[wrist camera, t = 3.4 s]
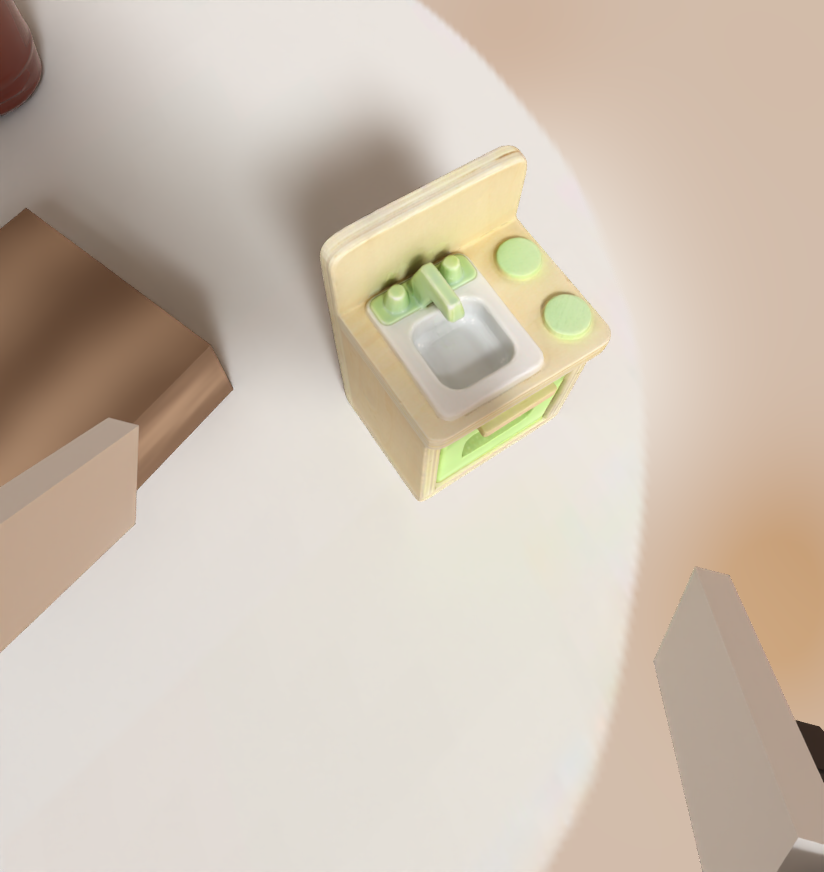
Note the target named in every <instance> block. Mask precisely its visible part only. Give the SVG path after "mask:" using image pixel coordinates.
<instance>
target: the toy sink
mask: <svg viewBox="0 0 824 872" xmlns="http://www.w3.org/2000/svg"><path fill="white" fill-rule="evenodd" d="M526 170H527V160H526V158H525V157H524V156H523V154H522V153H521V152H520V150H519V149H518V148H516V147H514V146H501V147H499V148H497V149H495V150H493V151H490V152H488V153H486V154H484V155H483V156H481V157H479V158H477V159H475V160H473V161H471V162H469V163H467V164H465V165H463V166H461V167H459V168H457V169H455V170H453V171H451V172H449V173H447V174H446V175H444V176H442V177H440V178H438V179H436V180H434V181H432V182H430V183H428V184H426V185H424V186H422V187H420V188H418V189H416V190H414V191H412V192H411V193H409V194H407V195H405V196H403V197H401V198H399V199H397V200H395V201H393V202H391V203H389V204H387V205H385V206H383V207H381V208H379V209H377V210H376V211H374V212H372V213H370V214H368V215H366V216H364V217H362V218H361V219H359V220H357V221H355V222H353V223H352V224H350V225H348V226H346V227H344V228H343V229H341V230H340V231H338V232H336V233H335V234H334V235H332V236H331V237H330V238H328V240H327V241H326V242H325V243H324V244H323V246H322V248H321V251H320V263H321V269H322V274H323V280H324V286H325V291H326V297H327V303H328V308H329V313H330V318H331V324H332V329H333V334H334V339H335V344H336V350H337V354H338V359H339V364H340V369H341V374H342V379H343V384H344V389H345V393H346V397H347V399H348V401H349V403H350V404H351V406H352V407H353V409H354V410H355V412H356V413H357V414H358V416H359V417H360V419H361V420H362V422H363V423H364V425H365V426H366V428H367V429H368V430H369V432H370V433H371V435H372V436H373V438H374V439H375V441H376V442H377V444H378V445H379V447H380V448H381V450H382V451H383V453H384V454H385V455H386V457H387V458H388V460H389V461H390V462H391V464H392V465H393V467H394V468H395V470H396V471H397V473H398V474H399V475H400V477H401V478H402V480H403V481H404V483H405V484H406V486H407V487H408V488H409V490H410V491H411V493H412V494H413V495H414V497H415V498H416V499H417V500H418V501H420V502H422V501H425V500H427V499H428V498H430V497H432V496H433V495H435V494H437V493H438V492H440V491H441V490H443V489H444V488H446V487H447V486H449V485H450V484H452V483H454V482H455V481H457V480H458V479H460V478H461V477H463V476H464V475H466V474H468V473H469V472H471V471H472V470H474V469H475V468H477V467H479V466H480V465H482V464H483V463H485V462H486V461H488V460H489V459H491V458H492V457H494V456H496V455H497V454H499V453H500V452H502V451H503V450H505V449H506V448H508V447H510V446H511V445H513V444H514V443H516V442H517V441H519V440H520V439H522V438H524V437H525V436H527V435H528V434H530V433H531V432H533V431H534V430H536V429H538V428H539V427H541V426H542V425H544V424H545V423H547V422H548V421H550V420H551V419H553V418H554V417H555V416H556V415H557V414H558V412H559V411H560V409H561V407H562V405H563V403H564V402H565V400H566V398H567V397H568V395H569V393H570V391H571V389H572V388H573V386H574V384H575V382H576V380H577V379H578V377H579V375H580V373H581V372H582V370H583V368H584V366H585V364H586V362H587V361H589V360H591V359H592V358H594V357H595V356H597V355H599V354H600V353H601V352H602V351H603V350H604V349H605V347H606V345H607V344H608V342H609V340H610V337H611V331H610V329H609V326H608V325H607V324H606V322H605V321H604V320H603V319H602V318H601V316H600V315H599V314H598V313H597V312H596V310H595V309H594V308H593V307H592V306H591V305H590V304H589V303H588V301H587V300H586V299H585V298H584V297H583V295H582V294H581V293H580V292H579V291H578V289H577V288H576V287H575V286H574V285H573V284H572V282H571V281H570V280H569V279H568V278H567V277H566V275H565V274H564V273H563V272H562V271H561V270H560V268H559V267H558V266H557V265H556V264H555V263H554V261H553V260H552V259H551V258H550V257H549V256H548V254H547V253H546V252H545V251H544V250H543V248H542V247H541V246H540V245H539V244H538V243H537V242H536V240H535V239H534V238H533V237H532V236H531V235H530V233H529V232H528V231H527V230H526V229H525V228H524V226H523V225H522V224H521V223H520V221H519V220H518V219H517V217H516V213H517V209H518V205H519V201H520V196H521V192H522V188H523V184H524V179H525V175H526Z"/></svg>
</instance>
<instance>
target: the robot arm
mask: <svg viewBox="0 0 824 872" xmlns="http://www.w3.org/2000/svg"><path fill="white" fill-rule="evenodd" d="M138 436H139V425H136V424H132V423H128V422H124V421H120V420H116V419H112V418H107V419H105V420H104V421H102V422H101V423H99V424H98V425H96V426H94V427H93V428H91V429H90V430H88V431H87V432H85V433H84V434H82V435H80V436H79V437H77V438H76V439H74V440H73V441H71V442H70V443H68V444H66V445H65V446H63V447H62V448H60V449H59V450H57V451H56V452H54V453H52V454H51V455H49V456H48V457H46V458H45V459H43V460H42V461H40V462H38V463H37V464H35V465H34V466H32V467H31V468H29V469H28V470H26V471H24V472H23V473H21V474H20V475H18V476H17V477H15V478H14V479H12V480H11V481H9V482H7V483H6V484H4V485H3V486H1V487H0V653H1V652H2V651H3V650H4V649H5V648H6V647H7V646H8V645H9V644H10V643H11V642H12V641H13V640H14V639H15V638H16V637H17V636H18V635H19V634H21V633H22V632H23V631H24V630H25V629H26V628H27V627H28V626H29V625H30V624H31V623H32V622H33V621H34V620H35V619H36V618H37V617H38V616H39V615H40V614H41V613H43V612H44V611H45V610H46V609H47V608H48V607H49V606H50V605H51V604H52V603H53V602H54V601H55V600H56V599H57V598H58V597H59V596H60V595H61V594H62V593H63V592H65V591H66V590H67V589H68V588H69V587H70V586H71V585H72V584H73V583H74V582H75V581H76V580H77V579H78V578H79V577H80V576H81V575H82V574H83V573H84V572H85V571H87V570H88V569H89V568H90V567H91V566H92V565H93V564H94V563H95V562H96V561H97V560H98V559H99V558H100V557H101V556H102V555H103V554H104V553H105V552H106V551H108V550H109V549H110V548H111V547H112V546H113V545H114V544H115V543H116V542H117V541H118V540H119V539H120V538H121V537H122V536H123V535H124V534H125V533H126V532H127V531H128V530H130V529H131V528H132V527H133V526H134V525H135V521H136V493H137V465H138ZM654 665H655V669H656V673H657V678H658V682H659V687H660V691H661V695H662V699H663V704H664V708H665V713H666V717H667V721H668V726H669V729H670V734H671V738H672V743H673V747H674V751H675V756H676V760H677V764H678V768H679V773H680V777H681V781H682V785H683V790H684V794H685V799H686V803H687V807H688V811H689V816H690V820H691V824H692V829H693V833H694V838H695V841H696V846H697V851H698V855H699V859H700V863H701V868H702V872H824V731H823V730H822V729H821V728H820V727H819V726H815V725H812V724H808V723H804V722H800V721H797V720H795V719H794V716H793V714H792V712H791V710H790V708H789V705H788V703H787V701H786V699H785V697H784V694H783V692H782V690H781V688H780V686H779V683H778V681H777V679H776V677H775V675H774V673H773V670H772V668H771V666H770V664H769V661H768V659H767V657H766V655H765V653H764V651H763V648H762V646H761V644H760V642H759V639H758V637H757V635H756V633H755V631H754V628H753V626H752V624H751V622H750V620H749V617H748V615H747V613H746V611H745V608H744V606H743V604H742V602H741V600H740V597H739V595H738V593H737V591H736V589H735V587H734V584H733V582H732V580H731V578H730V576H729V575H727V574H722V573H719V572H715V571H711V570H707V569H703V568H699V567H694V570H693V572H692V574H691V577H690V579H689V581H688V583H687V586H686V588H685V590H684V592H683V595H682V597H681V599H680V602H679V604H678V606H677V608H676V611H675V613H674V616H673V617H672V620H671V622H670V624H669V627H668V629H667V631H666V634H665V636H664V638H663V640H662V643H661V645H660V647H659V650H658V652H657V654H656V657H655V658H654Z"/></svg>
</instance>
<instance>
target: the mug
mask: <svg viewBox="0 0 824 872" xmlns="http://www.w3.org/2000/svg"><path fill="white" fill-rule="evenodd" d="M41 71H42V67H41V61H40V57H39V55H38V52H37V49H36V46H35V43H34V41H33V38H32V34H31V30H30V28H29V26H28V24H27V23H26V21H25V20H24V19H23V17H22V15H21V13H20V12H19V10H18V8H17V6H16V4H15V2H14V1H13V0H0V116H2V115H5V114H7V113H9V112H11V111H13V110H15V109H16V108H18V107H19V106H21V105H22V104H23V103H24V102H25V101H26V100H27V99H28V98H29V97H30V96H31V95H32V93H33V92H34V90H35V89H36V87H37V85H38V83H39V81H40V77H41Z"/></svg>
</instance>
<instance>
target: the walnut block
mask: <svg viewBox="0 0 824 872" xmlns="http://www.w3.org/2000/svg"><path fill="white" fill-rule="evenodd" d="M232 390H233V388H232V386H231V384H230V382H229V380H228V378H227V376H226V374H225V372H224V370H223V368H222V366H221V364H220V362H219V360H218V358H217V356H216V354H215V352H214V350H213V348H212V346H211V345H210V344H209V343H208V342H206V341H205V340H203V339H202V338H201V337H199V336H198V335H197V334H195V333H194V332H193V331H191V330H190V329H189V328H187V327H186V326H185V325H183V324H182V323H181V322H179V321H178V320H177V319H175V318H174V317H173V316H171V315H170V314H168V313H167V312H166V311H164V310H163V309H162V308H160V307H159V306H158V305H156V304H155V303H154V302H152V301H151V300H150V299H148V298H147V297H146V296H144V295H143V294H142V293H140V292H139V291H138V290H136V289H135V288H133V287H132V286H131V285H129V284H128V283H127V282H125V281H124V280H123V279H121V278H120V277H119V276H117V275H116V274H115V273H113V272H112V271H111V270H109V269H108V268H107V267H105V266H104V265H103V264H101V263H100V262H99V261H97V260H96V259H94V258H93V257H92V256H90V255H89V254H88V253H86V252H85V251H84V250H82V249H81V248H80V247H78V246H77V245H76V244H74V243H73V242H72V241H70V240H69V239H68V238H66V237H65V236H64V235H62V234H61V233H59V232H58V231H57V230H55V229H54V228H53V227H51V226H50V225H49V224H47V223H46V222H45V221H43V220H42V219H41V218H39V217H38V216H37V215H35V214H34V213H33V212H31V211H30V210H29V209H27V208H25V209H24V210H23V211H22V212H20V213H19V214H18V215H17V216H16V217H14V218H13V219H12V220H11V221H10V222H8V223H7V224H6V225H5V226H3V227H2V228H1V229H0V487H1V486H3V485H4V484H6V483H7V482H9V481H11V480H12V479H14V478H15V477H17V476H18V475H20V474H21V473H23V472H24V471H26V470H28V469H29V468H31V467H32V466H34V465H35V464H37V463H38V462H40V461H42V460H43V459H45V458H46V457H48V456H49V455H51V454H52V453H54V452H56V451H57V450H59V449H60V448H62V447H63V446H65V445H66V444H68V443H70V442H71V441H73V440H74V439H76V438H77V437H79V436H80V435H82V434H84V433H85V432H87V431H88V430H90V429H91V428H93V427H94V426H96V425H98V424H99V423H101V422H102V421H104V420H105V419H107V418H112V419H116V420H120V421H124V422H128V423H132V424H136V425H139V436H138V465H137V490H138V489H139V487H140V486H141V485H142V484H143V483H144V482H145V481H146V480H147V479H148V478H149V477H150V476H151V475H152V474H153V473H154V472H155V471H156V470H157V469H158V468H159V467H160V466H161V464H162V463H163V462H164V461H165V460H166V459H167V458H168V457H169V456H170V455H171V454H172V453H173V452H174V451H175V450H176V449H177V448H178V447H179V446H180V445H181V444H182V442H183V441H184V440H185V439H186V438H187V437H188V436H189V435H190V434H191V433H192V432H193V431H194V430H195V429H196V428H197V427H198V426H199V425H200V424H201V423H202V422H203V420H204V419H205V418H206V417H207V416H208V415H209V414H210V413H211V412H212V411H213V410H214V409H215V408H216V407H217V406H218V405H219V404H220V403H221V402H222V401H223V400H224V398H225V397H226V396H227V395H228V394H229V393H230V392H231V391H232Z"/></svg>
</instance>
